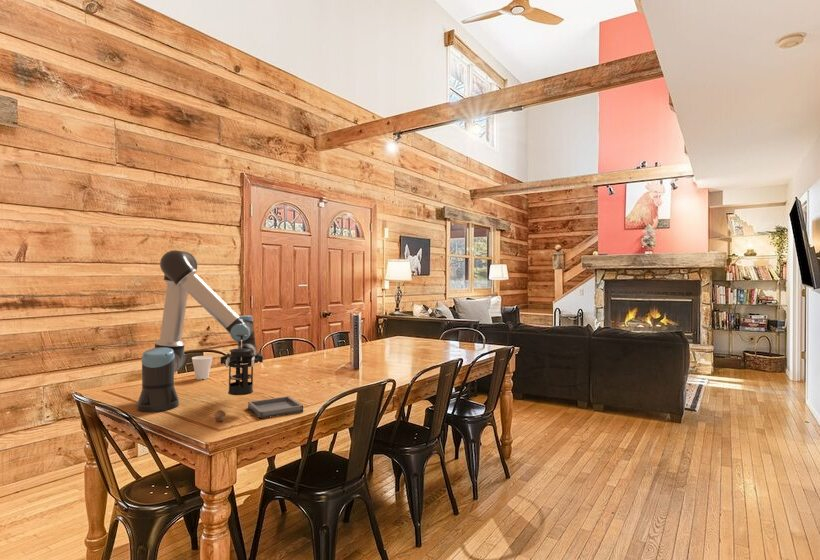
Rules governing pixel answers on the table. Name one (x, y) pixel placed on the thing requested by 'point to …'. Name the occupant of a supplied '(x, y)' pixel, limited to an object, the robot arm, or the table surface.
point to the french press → (244, 385)
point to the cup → (202, 366)
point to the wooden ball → (220, 415)
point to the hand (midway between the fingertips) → (239, 363)
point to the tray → (275, 406)
